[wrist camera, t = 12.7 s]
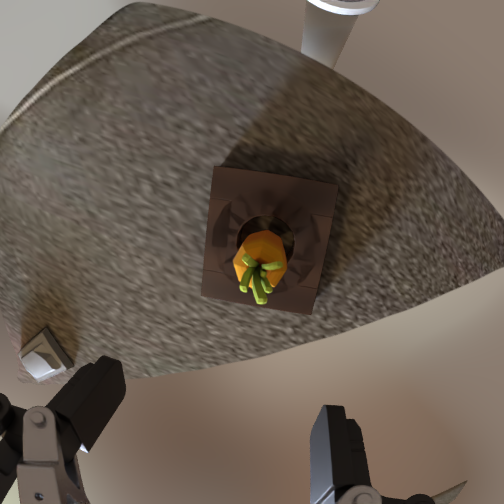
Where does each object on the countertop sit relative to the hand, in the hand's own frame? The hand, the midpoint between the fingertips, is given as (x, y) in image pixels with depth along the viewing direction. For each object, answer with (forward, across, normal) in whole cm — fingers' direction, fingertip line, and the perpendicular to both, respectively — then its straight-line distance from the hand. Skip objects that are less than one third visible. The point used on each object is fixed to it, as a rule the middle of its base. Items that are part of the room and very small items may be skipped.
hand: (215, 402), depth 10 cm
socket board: (+27, 0, 0) cm, 27 cm away
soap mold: (+27, +47, +36) cm, 65 cm away
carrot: (+27, 0, 0) cm, 27 cm away
